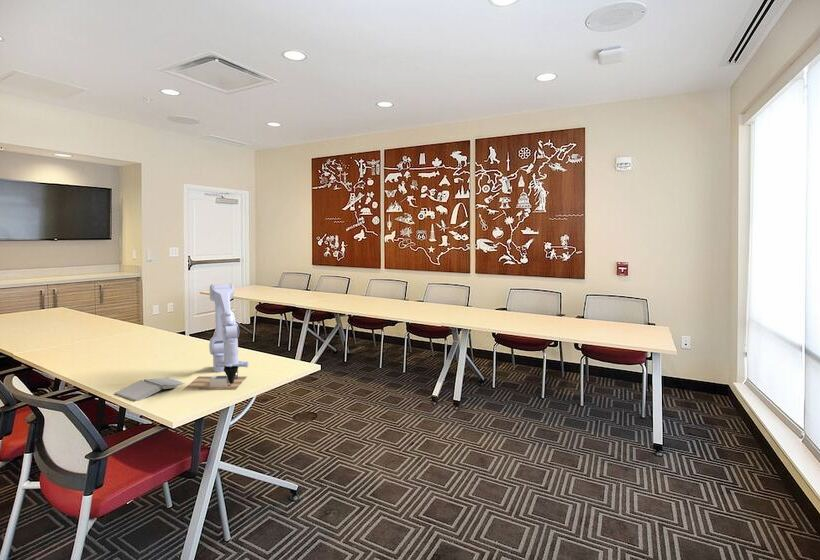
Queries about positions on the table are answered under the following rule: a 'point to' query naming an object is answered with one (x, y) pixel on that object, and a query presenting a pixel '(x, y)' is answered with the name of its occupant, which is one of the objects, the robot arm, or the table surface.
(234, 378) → the copper and grey cylinder
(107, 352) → the table surface
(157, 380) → the grey bent flat piece
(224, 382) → the white open box
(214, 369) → the robot arm
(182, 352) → the table surface
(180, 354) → the table surface
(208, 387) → the subfloor
